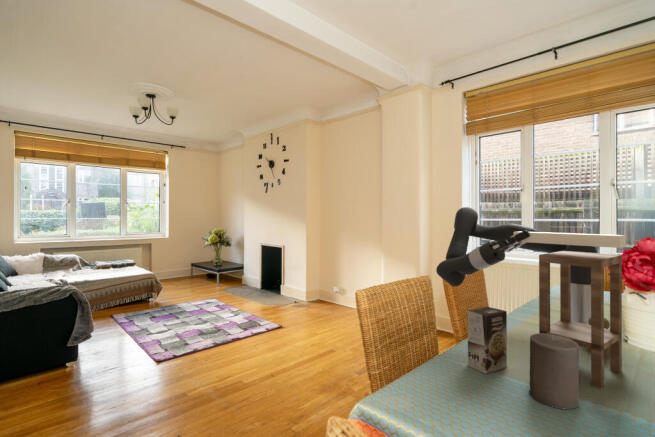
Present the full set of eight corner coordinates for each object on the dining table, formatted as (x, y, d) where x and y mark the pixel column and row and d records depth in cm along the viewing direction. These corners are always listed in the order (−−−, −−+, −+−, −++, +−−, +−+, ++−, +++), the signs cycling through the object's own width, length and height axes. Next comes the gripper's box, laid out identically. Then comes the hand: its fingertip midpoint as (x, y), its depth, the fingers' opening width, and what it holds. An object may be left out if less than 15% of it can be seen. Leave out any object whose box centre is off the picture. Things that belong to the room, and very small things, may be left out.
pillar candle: (520, 392, 81) (520, 331, 81) (546, 383, 85) (546, 325, 84) (561, 414, 72) (562, 346, 72) (588, 403, 76) (589, 339, 76)
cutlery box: (520, 240, 107) (520, 231, 107) (625, 246, 86) (625, 235, 86) (513, 241, 105) (513, 231, 105) (620, 247, 83) (620, 236, 83)
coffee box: (486, 374, 90) (486, 315, 90) (466, 365, 96) (466, 309, 95) (508, 367, 94) (507, 310, 94) (487, 358, 100) (487, 305, 100)
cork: (616, 357, 100) (616, 321, 100) (593, 355, 101) (593, 319, 101) (603, 349, 106) (603, 314, 106) (582, 347, 107) (582, 314, 107)
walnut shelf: (563, 353, 103) (562, 250, 102) (621, 371, 91) (621, 255, 91) (539, 367, 94) (539, 254, 93) (601, 388, 82) (600, 260, 82)
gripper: (469, 247, 112) (514, 222, 100) (492, 244, 120) (536, 221, 108) (479, 267, 109) (527, 244, 97) (502, 263, 117) (549, 242, 105)
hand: (532, 232), depth 102 cm, fingers closed on cutlery box, 4 cm apart
